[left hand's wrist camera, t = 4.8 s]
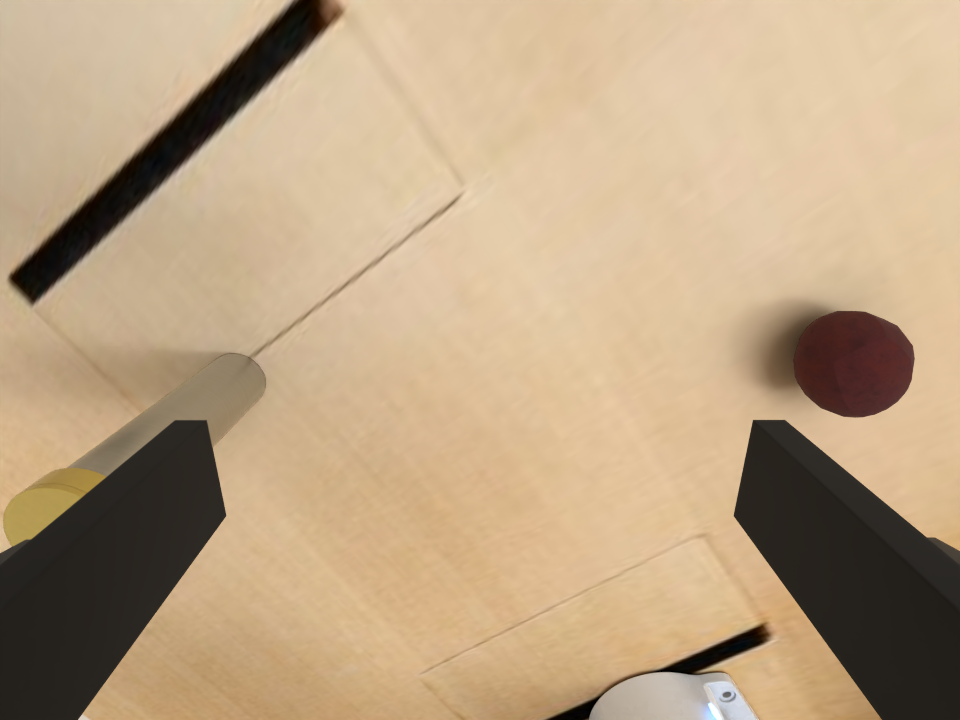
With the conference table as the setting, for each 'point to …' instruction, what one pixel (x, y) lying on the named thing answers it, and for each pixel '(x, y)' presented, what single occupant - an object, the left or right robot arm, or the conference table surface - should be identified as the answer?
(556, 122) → the conference table surface
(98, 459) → the bottle
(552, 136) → the conference table surface
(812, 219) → the conference table surface
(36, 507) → the lid
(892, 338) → the dark red plum
